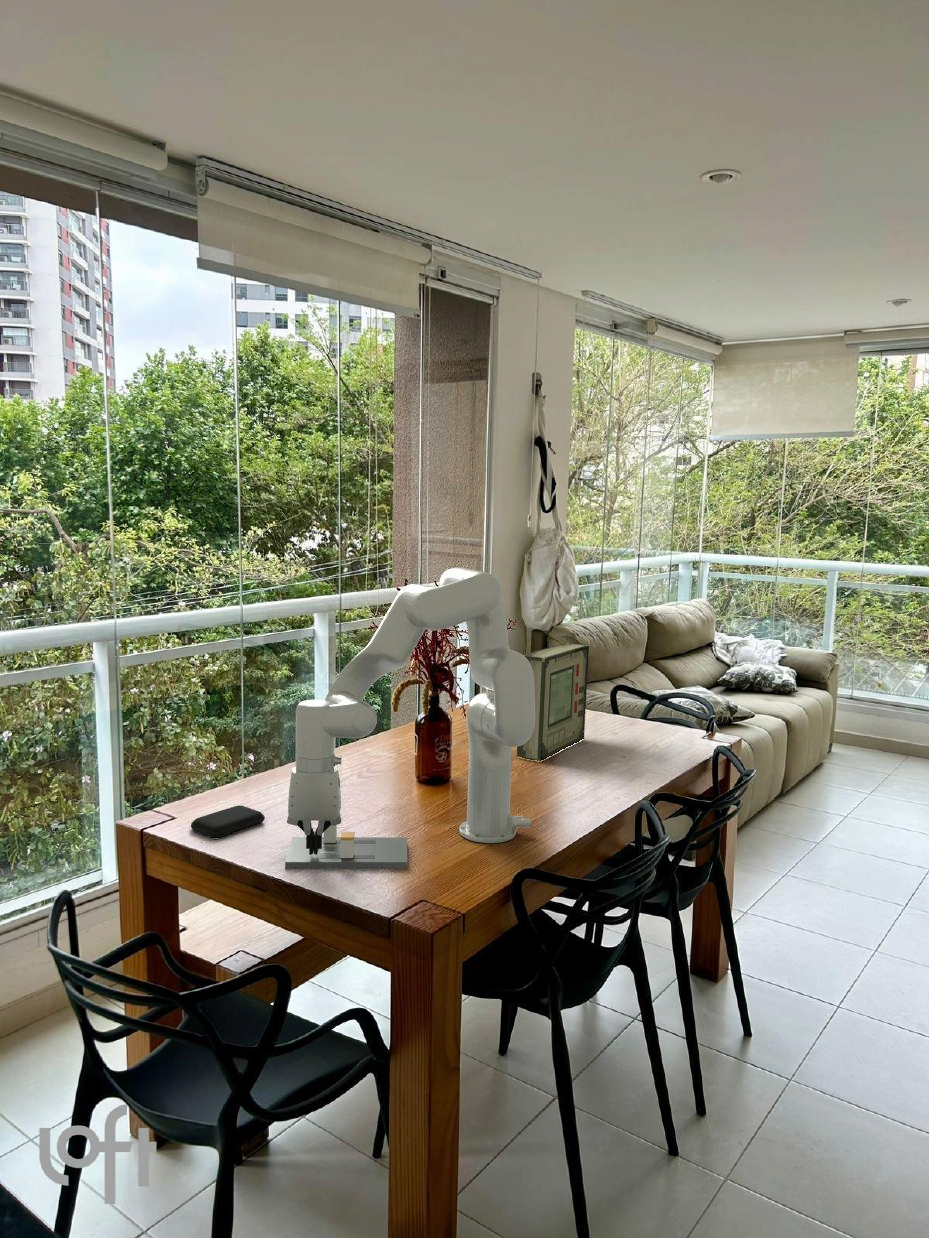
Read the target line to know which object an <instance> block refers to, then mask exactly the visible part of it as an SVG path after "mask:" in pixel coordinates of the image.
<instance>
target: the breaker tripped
mask: <svg viewBox="0 0 929 1238" xmlns="http://www.w3.org/2000/svg"><path fill="white" fill-rule="evenodd" d="M340 837H341V858H353V856H354V837H355V831H341V832H340Z"/></svg>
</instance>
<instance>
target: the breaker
mask: <svg viewBox="0 0 929 1238" xmlns="http://www.w3.org/2000/svg"><path fill="white" fill-rule="evenodd" d="M337 833H338V825H334V826H330V827H329V828H328V829H326V830H325V831H324V832H323V837H324V843H336V838H337V836H338V834H337Z"/></svg>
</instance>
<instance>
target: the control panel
mask: <svg viewBox="0 0 929 1238" xmlns="http://www.w3.org/2000/svg"><path fill="white" fill-rule="evenodd" d="M589 648H590V645H589V644H580V643H572V642H565V643H561V644H560V643H559V644H557V645H554V646H550V647H547V648H543V649H539V650H535V651H532V652H528V653H524V654H523V655H524V656H525V657H526V658H527V660H528V661H529V663H530V665H531V667H532V670H533V674H534V689H535V727H534V731H533V734H532V736H531V737H530V739H529V740H528V741H527V742H526V743H525V744H523V745H521V746H518V747H516V758H517V757H522V758H525V759H530V760H537V761H541V760H544V759H546V758H547V757H549V756H552V755H553V754H555V753H557V752H559V751H560V750H562V749H565V748H566V747H568V746H571V745H573V744H574V743H577V742H579V741H580V740H582V739H584V740H585V729H586V728H585V727H586V725H585V724H586V709H587V690H588V689H587V688H588V687H587V686H588V672H589V671H588V670H589V669H588V668H589Z"/></svg>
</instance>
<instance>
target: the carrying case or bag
mask: <svg viewBox="0 0 929 1238" xmlns="http://www.w3.org/2000/svg"><path fill="white" fill-rule="evenodd" d="M265 818H266V817H265V815H264V814H263V812H261V811H259V810H256V809H253V808H250V807H248V806H244V805H234V806H231V807H228V808H225V809H222V810H218V811H215V812H212V813H209V814H206V815H203V816H199V817H197V818H195V819H193V821H192V822H191V823H190V829H192V830H193V831H194V832H195V833H197V834H200V835H202V836H205V837H208V838H211V839H212V838H219V839H222V837H223V838H225V837H228V835H229V836H231V835H234V834H237V833H240V832H243V831H246V830H248V829H251V828H253V827H254V828H255V827H257V826H259V825H262V823H263V822H264V821H265Z"/></svg>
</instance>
